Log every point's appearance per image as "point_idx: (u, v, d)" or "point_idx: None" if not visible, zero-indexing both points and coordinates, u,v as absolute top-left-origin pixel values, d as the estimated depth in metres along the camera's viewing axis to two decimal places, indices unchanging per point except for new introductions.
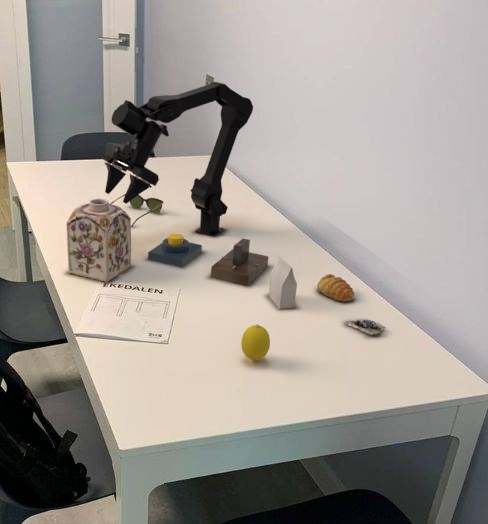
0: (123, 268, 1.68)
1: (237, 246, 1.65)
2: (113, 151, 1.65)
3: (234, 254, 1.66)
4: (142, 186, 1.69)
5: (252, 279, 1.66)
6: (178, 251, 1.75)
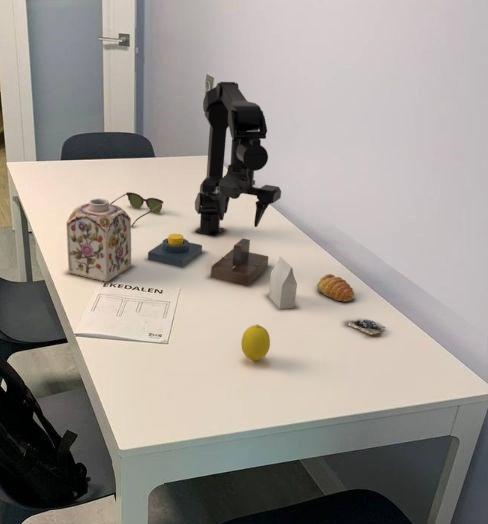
0: (123, 268, 1.68)
1: (237, 246, 1.65)
2: (234, 192, 1.53)
3: (234, 254, 1.66)
4: None
5: (252, 279, 1.66)
6: (178, 251, 1.75)
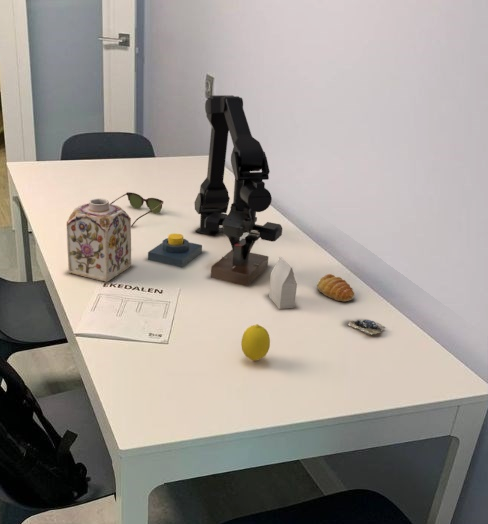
0: (123, 268, 1.68)
1: (237, 246, 1.65)
2: (237, 232, 1.58)
3: (234, 254, 1.66)
4: None
5: (252, 279, 1.66)
6: (178, 251, 1.75)
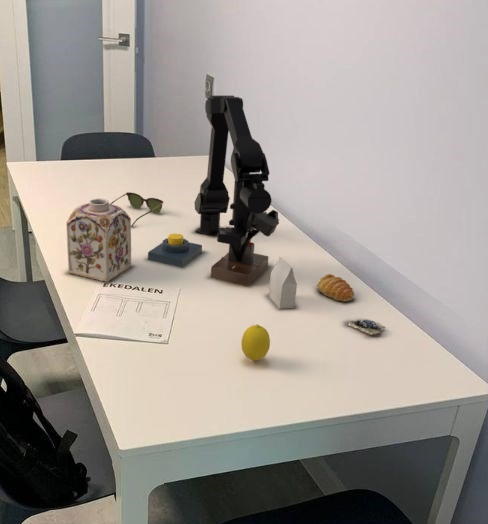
0: (123, 268, 1.68)
1: (252, 245, 1.67)
2: (276, 226, 1.64)
3: (251, 254, 1.67)
4: None
5: (252, 279, 1.66)
6: (178, 251, 1.75)
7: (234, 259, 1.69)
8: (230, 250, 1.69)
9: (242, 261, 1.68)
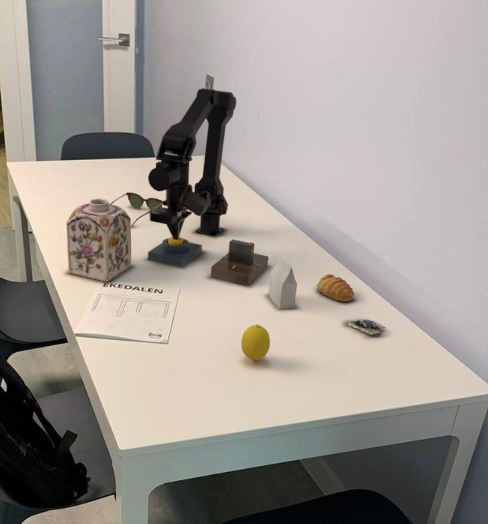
0: (123, 268, 1.68)
1: (252, 245, 1.67)
2: (207, 206, 1.71)
3: (251, 254, 1.67)
4: None
5: (252, 279, 1.66)
6: (178, 251, 1.75)
7: (234, 259, 1.69)
8: (230, 250, 1.69)
9: (242, 261, 1.68)
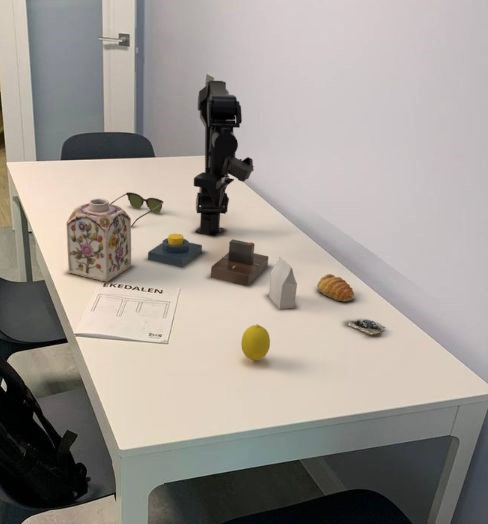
0: (123, 268, 1.68)
1: (252, 245, 1.67)
2: (250, 172, 1.71)
3: (251, 254, 1.67)
4: None
5: (252, 279, 1.66)
6: (178, 251, 1.75)
7: (234, 259, 1.69)
8: (230, 250, 1.69)
9: (242, 261, 1.68)
